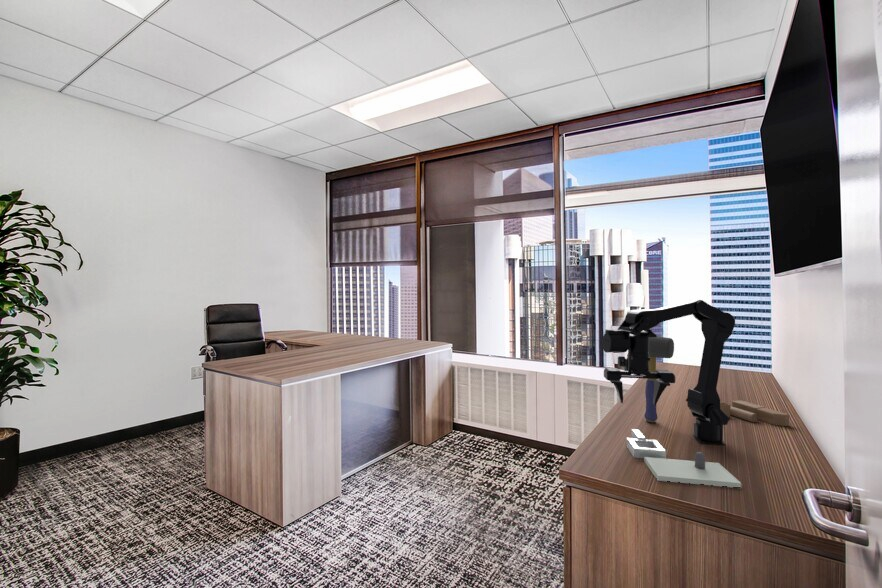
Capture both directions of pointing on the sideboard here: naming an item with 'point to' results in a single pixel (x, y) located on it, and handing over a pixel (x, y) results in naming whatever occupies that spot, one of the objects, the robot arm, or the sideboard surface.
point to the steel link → (644, 446)
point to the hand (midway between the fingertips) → (637, 403)
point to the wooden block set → (754, 413)
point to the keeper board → (691, 471)
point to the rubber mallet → (657, 349)
